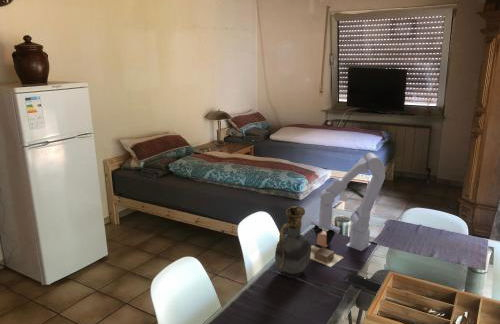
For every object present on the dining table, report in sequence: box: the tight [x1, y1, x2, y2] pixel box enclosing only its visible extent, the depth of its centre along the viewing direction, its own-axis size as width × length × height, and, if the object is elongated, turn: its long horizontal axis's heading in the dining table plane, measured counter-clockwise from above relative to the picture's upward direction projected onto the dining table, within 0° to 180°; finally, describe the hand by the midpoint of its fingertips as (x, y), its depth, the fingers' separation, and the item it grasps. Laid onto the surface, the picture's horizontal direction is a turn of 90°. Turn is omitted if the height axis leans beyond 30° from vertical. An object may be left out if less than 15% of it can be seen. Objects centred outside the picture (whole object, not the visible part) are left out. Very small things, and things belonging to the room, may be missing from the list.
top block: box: [316, 230, 332, 248], centre depth 187 cm, size 4×4×6 cm
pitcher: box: [274, 205, 312, 279], centre depth 159 cm, size 11×19×30 cm, turn 146°
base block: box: [314, 246, 335, 263], centre depth 175 cm, size 6×6×3 cm
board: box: [310, 245, 344, 268], centre depth 178 cm, size 11×16×1 cm
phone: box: [342, 272, 383, 295], centre depth 157 cm, size 8×1×15 cm
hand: (323, 242), depth 188 cm, fingers closed on top block, 4 cm apart
